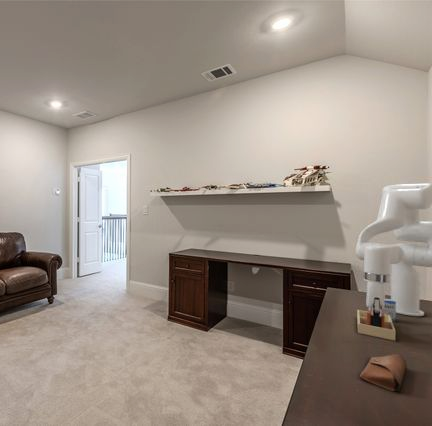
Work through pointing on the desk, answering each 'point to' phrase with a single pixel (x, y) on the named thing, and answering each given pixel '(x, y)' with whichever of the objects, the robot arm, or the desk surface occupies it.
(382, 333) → the sorter
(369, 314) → the terracotta block
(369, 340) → the desk surface
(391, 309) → the medicine box
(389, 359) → the sunglasses case
